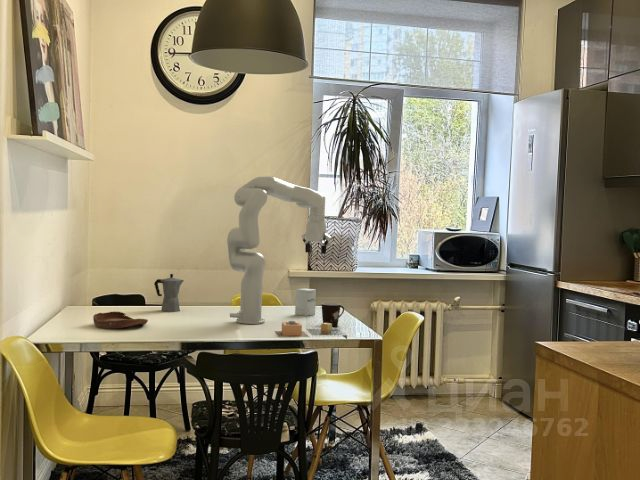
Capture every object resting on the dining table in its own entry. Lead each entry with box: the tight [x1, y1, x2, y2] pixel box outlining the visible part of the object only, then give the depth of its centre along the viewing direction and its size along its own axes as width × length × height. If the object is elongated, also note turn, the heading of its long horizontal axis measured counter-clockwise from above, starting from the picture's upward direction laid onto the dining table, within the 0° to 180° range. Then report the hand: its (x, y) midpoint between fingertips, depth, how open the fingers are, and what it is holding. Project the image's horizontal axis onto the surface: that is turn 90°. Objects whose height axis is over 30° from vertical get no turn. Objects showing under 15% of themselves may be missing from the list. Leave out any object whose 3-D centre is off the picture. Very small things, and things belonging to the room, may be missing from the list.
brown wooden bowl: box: [92, 311, 149, 329], centre depth 277 cm, size 22×20×5 cm
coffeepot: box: [154, 273, 184, 313], centre depth 325 cm, size 15×9×18 cm, turn 129°
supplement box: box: [294, 287, 317, 317], centre depth 329 cm, size 7×7×13 cm
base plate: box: [306, 322, 348, 340], centre depth 273 cm, size 14×14×5 cm
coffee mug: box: [320, 302, 345, 328], centre depth 297 cm, size 12×9×10 cm
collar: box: [281, 321, 303, 335], centre depth 266 cm, size 7×7×4 cm
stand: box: [274, 320, 309, 338], centre depth 266 cm, size 12×12×6 cm
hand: (315, 253), depth 331 cm, fingers open, 9 cm apart
